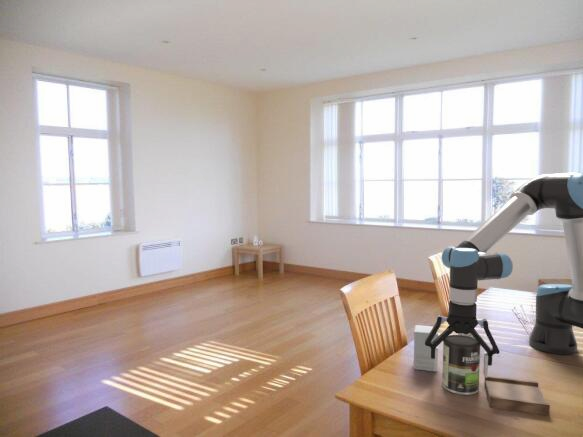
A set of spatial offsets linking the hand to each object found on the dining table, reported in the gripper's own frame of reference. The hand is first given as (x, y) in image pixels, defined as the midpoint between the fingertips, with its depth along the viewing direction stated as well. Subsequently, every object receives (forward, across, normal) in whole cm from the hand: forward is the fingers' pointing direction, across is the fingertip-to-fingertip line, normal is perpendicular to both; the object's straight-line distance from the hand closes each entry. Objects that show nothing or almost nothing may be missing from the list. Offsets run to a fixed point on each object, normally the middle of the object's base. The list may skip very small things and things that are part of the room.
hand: (460, 372), depth 128 cm
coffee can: (+5, 0, 0) cm, 5 cm away
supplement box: (+5, +10, -12) cm, 16 cm away
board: (+4, -14, +3) cm, 15 cm away
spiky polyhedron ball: (+4, -4, -31) cm, 32 cm away
